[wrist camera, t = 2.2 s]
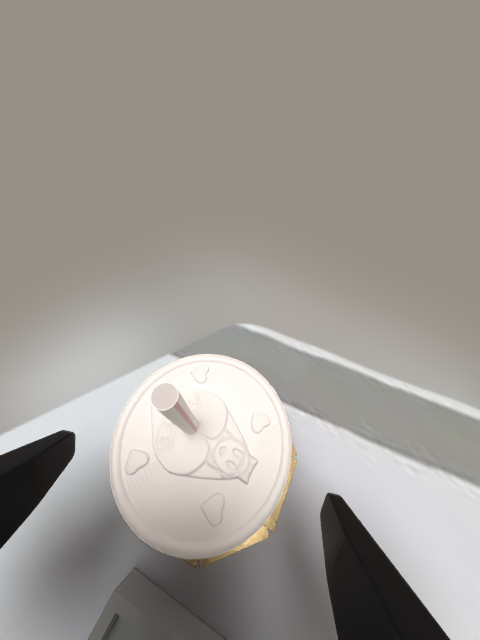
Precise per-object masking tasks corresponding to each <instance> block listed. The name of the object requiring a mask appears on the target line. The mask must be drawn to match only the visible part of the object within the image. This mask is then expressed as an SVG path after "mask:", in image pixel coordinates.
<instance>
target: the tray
mask: <svg viewBox="0 0 480 640" xmlns="http://www.w3.org/2000/svg"><path fill="white" fill-rule="evenodd" d="M88 640H225V639H224V638H223V637H222V636H220V635H219V634H218V633H217V632H215V631H214V630H213V629H211V628H210V627H209V626H208V625H206V624H205V623H204V622H203V621H201V620H200V619H199V618H198V617H196V616H195V615H194V614H192V613H191V612H190V611H189V610H187V609H186V608H185V607H184V606H182V605H181V604H180V603H179V602H177V601H176V600H175V599H173V598H172V597H171V596H170V595H168V594H167V593H166V592H165V591H163V590H162V589H161V588H160V587H158V586H157V585H156V584H154V583H153V582H152V581H151V580H149V579H148V578H147V577H146V576H144V575H143V574H142V573H141V572H139V571H138V570H137V569H135V568H134V569H133V570H132V571H131V572H130V574H129V575H128V576H127V577H126V578H125V579H124V580H123V582H122V583H121V584H120V585H119V586H118V587H117V588H116V590H115V591H114V593H113V595H112V596H111V598H110V600H109V602H108V604H107V605H106V607H105V609H104V611H103V613H102V614H101V616H100V618H99V620H98V622H97V624H96V625H95V627H94V629H93V631H92V633H91V634H90V636H89V638H88Z"/></svg>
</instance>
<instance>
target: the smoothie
mask: <svg viewBox="0 0 480 640" xmlns="http://www.w3.org/2000/svg"><path fill="white" fill-rule="evenodd" d="M291 454H292V442H291V432H290V427H289V422H288V418H287V415H286V412H285V409H284V407H283V405H282V403H281V400H280V398H279V397H278V395H277V393H276V392H275V390H274V389H273V387H272V386H271V385H270V384H269V382H268V381H267V380H266V379H265V378H264V377H263V376H262V375H261V374H260V373H258V372H257V371H256V370H255V369H253V368H252V367H250V366H249V365H247V364H245V363H243V362H241V361H239V360H237V359H234V358H231V357H227V356H223V355H216V354H199V355H193V356H188V357H184V358H181V359H178V360H176V361H173V362H171V363H169V364H167V365H165V366H164V367H162V368H160V369H159V370H157V371H156V372H155V373H153V374H152V375H151V376H149V377H148V378H147V379H146V380H145V381H144V382H143V383H142V384H141V385H140V386H139V387H138V388H137V390H136V391H135V392H134V393H133V395H132V396H131V397H130V399H129V400H128V402H127V403H126V405H125V407H124V409H123V411H122V413H121V415H120V417H119V419H118V422H117V424H116V427H115V430H114V434H113V437H112V442H111V447H110V456H109V474H110V483H111V488H112V492H113V496H114V499H115V502H116V505H117V507H118V509H119V512H120V513H121V515H122V517H123V519H124V520H125V522H126V523H127V525H128V526H129V527H130V529H131V530H132V531H133V532H134V533H135V534H136V535H137V537H138V538H139V539H141V540H142V541H143V542H144V543H146V544H147V545H148V546H150V547H152V548H153V549H155V550H157V551H159V552H161V553H163V554H166V555H169V556H173V557H176V558H183V559H203V558H210V557H214V556H217V555H221V554H223V553H226V552H228V551H230V550H232V549H234V548H236V547H238V546H239V545H241V544H242V543H244V542H245V541H247V540H248V539H249V538H251V537H252V536H253V535H254V534H255V533H256V532H257V531H258V530H259V529H260V528H261V527H262V526H263V525H264V523H265V522H266V521H267V520H268V518H269V517H270V516H271V514H272V513H273V511H274V509H275V508H276V506H277V504H278V502H279V500H280V498H281V496H282V494H283V491H284V488H285V486H286V483H287V479H288V475H289V470H290V464H291Z"/></svg>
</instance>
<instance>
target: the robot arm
mask: <svg viewBox="0 0 480 640" xmlns="http://www.w3.org/2000/svg"><path fill="white" fill-rule="evenodd" d="M74 453H75V434H74V433H73V432H70V431H66V430H62V431H59V432H56V433H54V434H51V435H49V436H47V437H44V438H42V439H39V440H37V441H34V442H32V443H29V444H27V445H25V446H22V447H20V448H17V449H15V450H12V451H10V452H7V453H5V454H3V455H0V549H1V548H2V547H3V545H4V544H5V543H6V542H7V541H8V540H9V538H10V537H11V536H12V535H13V534H14V533H15V531H16V530H17V529H18V528H19V527H20V526H21V524H22V523H23V522H24V521H25V520H26V518H27V517H28V516H29V515H30V514H31V513H32V511H33V510H34V509H35V508H36V507H37V505H38V504H39V503H40V501H41V500H42V499H43V498H44V496H45V495H46V493H47V492H48V491H49V489H50V488H51V487H52V485H53V484H54V483H55V481H56V480H57V478H58V477H59V476H60V474H61V473H62V472H63V470H64V469H65V468H66V466H67V465H68V463H69V462H70V461H71V459H72V458H73V456H74ZM320 521H321V530H322V539H323V548H324V557H325V567H326V575H327V582H328V588H329V594H330V599H331V604H332V609H333V615H334V620H335V625H336V630H337V635H338V640H450V638H449V637H448V636H447V635H446V633H445V632H444V631H443V629H442V628H441V627H440V625H439V624H438V623H437V621H436V620H435V619H434V618H433V616H432V615H431V614H430V612H429V611H428V610H427V608H426V607H425V606H424V604H423V603H422V602H421V600H420V599H419V598H418V597H417V595H416V594H415V593H414V591H413V590H412V589H411V587H410V586H409V585H408V583H407V582H406V581H405V579H404V578H403V577H402V576H401V574H400V573H399V572H398V570H397V569H396V568H395V566H394V565H393V564H392V562H391V561H390V560H389V558H388V557H387V556H386V555H385V553H384V552H383V551H382V549H381V548H380V547H379V545H378V544H377V543H376V541H375V540H374V539H373V538H372V536H371V535H370V534H369V532H368V531H367V530H366V528H365V527H364V526H363V524H362V523H361V522H360V520H359V519H358V518H357V517H356V515H355V514H354V513H353V511H352V510H351V509H350V507H349V506H348V505H347V503H346V502H345V501H344V499H343V498H342V497H341V496H340V495H337V494H333V493H327V495H326V497H325V500H324V503H323V506H322V509H321V513H320Z"/></svg>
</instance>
